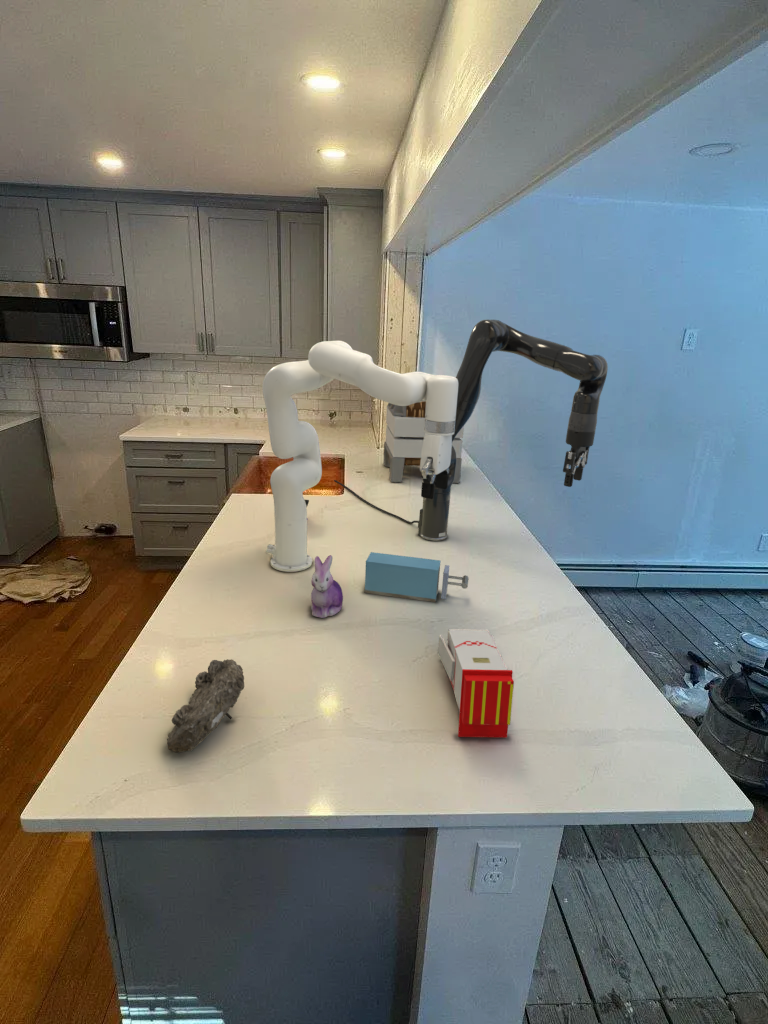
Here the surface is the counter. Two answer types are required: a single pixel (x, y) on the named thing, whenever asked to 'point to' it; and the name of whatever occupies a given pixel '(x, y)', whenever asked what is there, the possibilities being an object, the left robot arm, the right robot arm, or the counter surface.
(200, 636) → the counter surface
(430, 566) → the cabinet
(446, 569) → the drawer
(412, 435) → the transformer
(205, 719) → the fossil
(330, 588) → the figurine
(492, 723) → the toy
